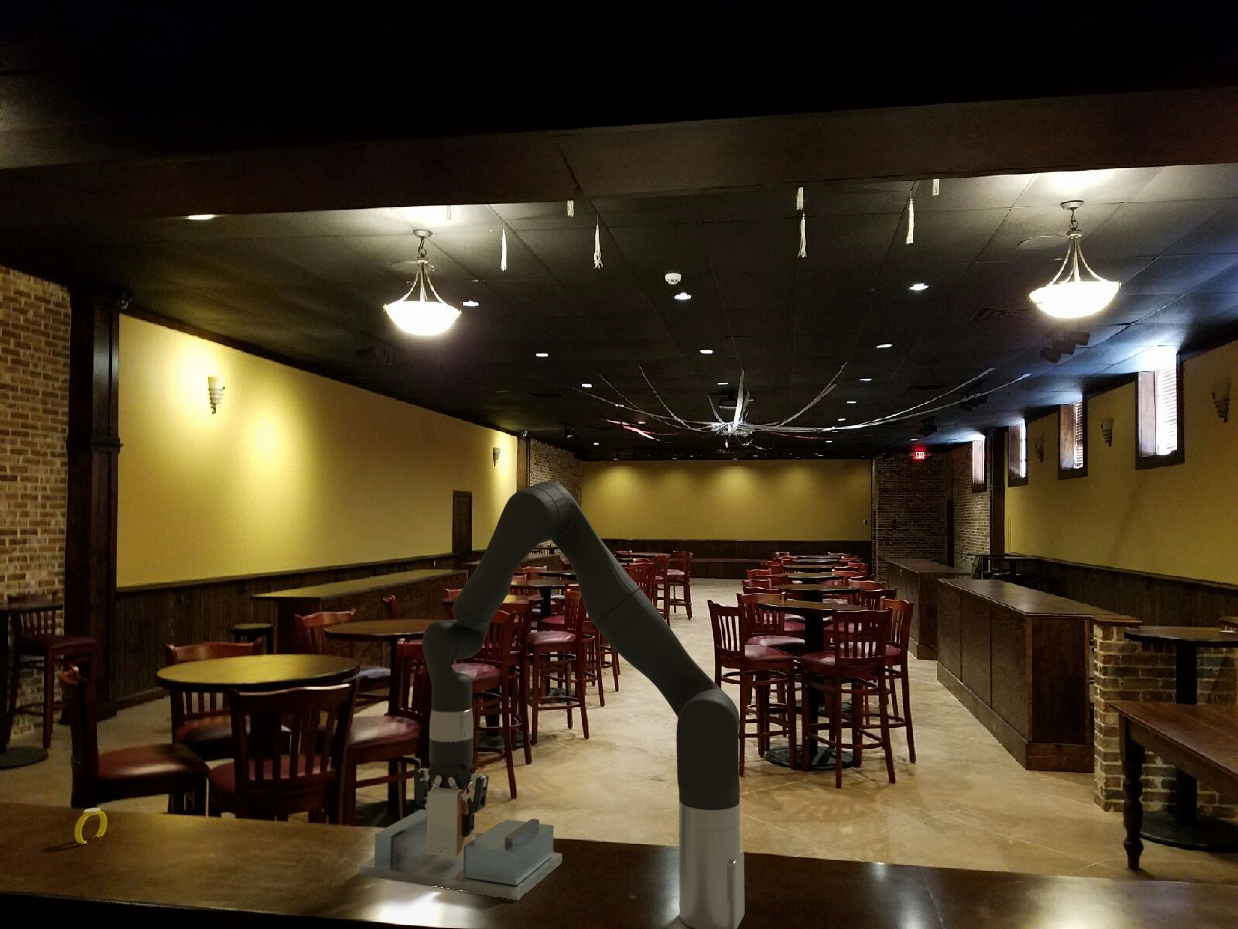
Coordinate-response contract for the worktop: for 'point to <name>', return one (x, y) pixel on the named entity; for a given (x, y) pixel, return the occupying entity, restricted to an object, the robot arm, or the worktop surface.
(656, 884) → the worktop surface
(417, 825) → the vise base
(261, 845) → the worktop surface
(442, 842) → the small box
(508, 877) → the sliding jaw
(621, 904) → the worktop surface
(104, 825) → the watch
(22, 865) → the worktop surface
